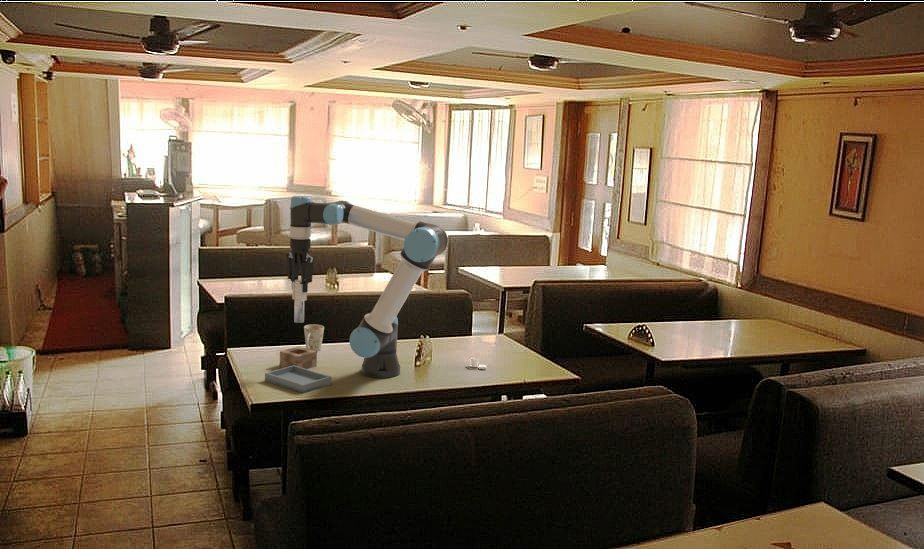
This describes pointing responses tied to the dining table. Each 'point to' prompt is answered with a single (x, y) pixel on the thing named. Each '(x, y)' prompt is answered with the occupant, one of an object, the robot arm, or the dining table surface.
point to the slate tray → (298, 379)
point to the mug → (313, 336)
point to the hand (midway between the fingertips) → (299, 299)
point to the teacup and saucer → (476, 363)
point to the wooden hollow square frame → (298, 358)
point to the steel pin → (298, 304)
